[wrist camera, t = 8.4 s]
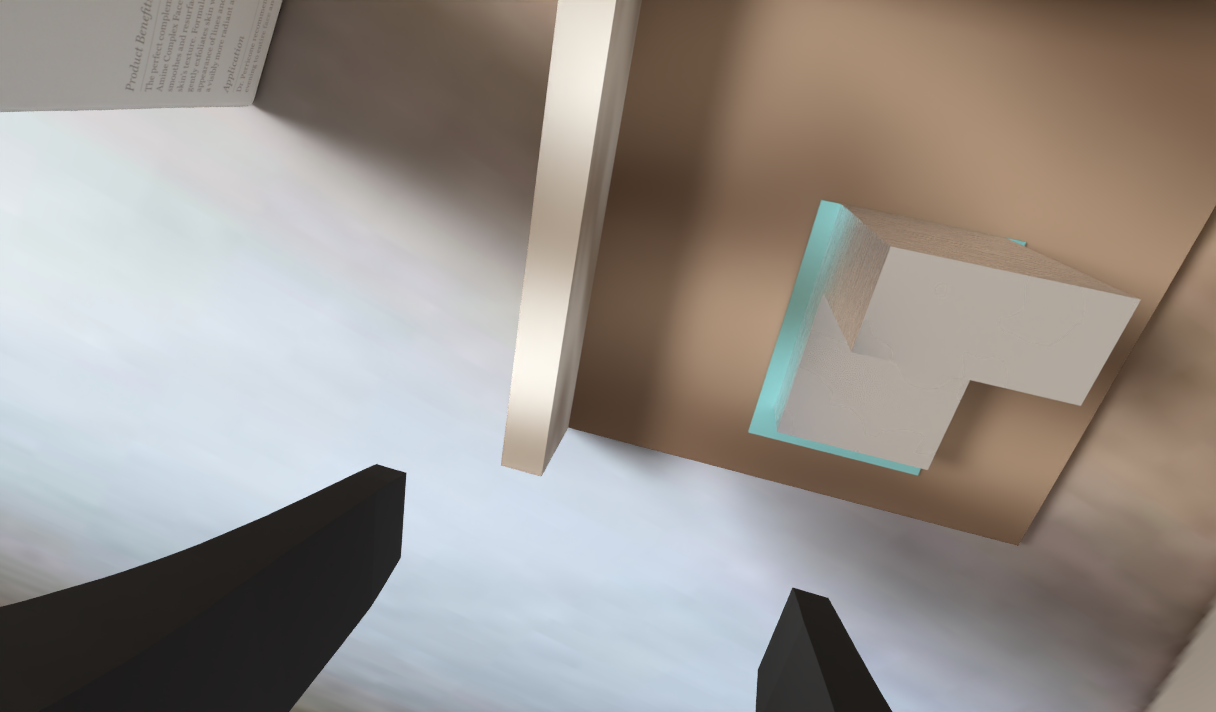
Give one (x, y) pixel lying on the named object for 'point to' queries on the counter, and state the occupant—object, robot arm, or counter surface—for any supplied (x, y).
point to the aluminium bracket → (935, 333)
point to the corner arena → (809, 203)
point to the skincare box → (132, 53)
